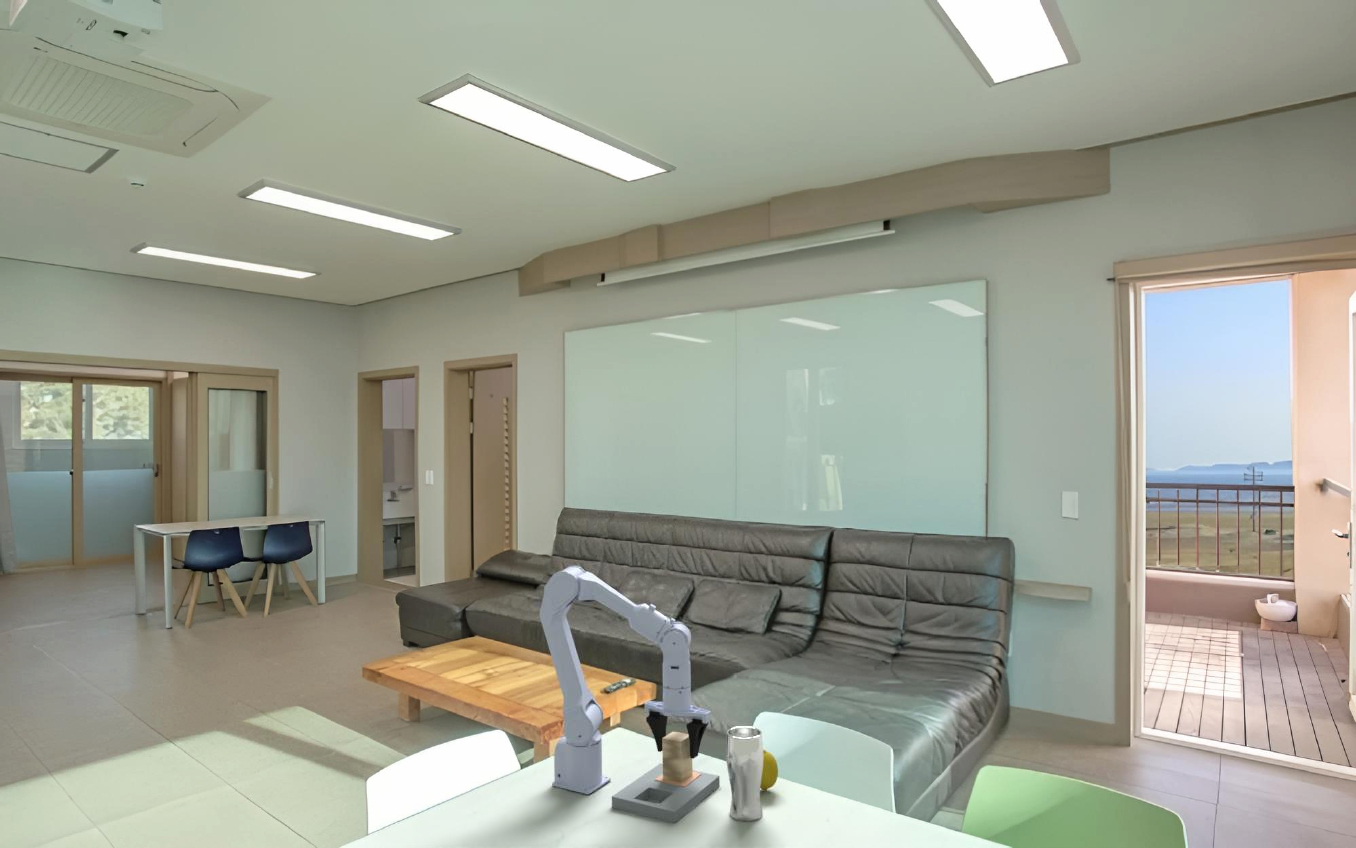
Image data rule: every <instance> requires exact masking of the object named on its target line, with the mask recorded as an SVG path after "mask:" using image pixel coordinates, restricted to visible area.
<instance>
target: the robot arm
mask: <svg viewBox="0 0 1356 848" xmlns="http://www.w3.org/2000/svg"><path fill="white" fill-rule="evenodd" d="M543 589H544V593H543V598H542V602H541V605H540V610H539V619H540V623H541V626H542V630H543V633H544V636H545V638H546V643H547V646H548V649H549V652H550V656H551V659H552V664H553V666H554V670H555V674H556V676H557V680H558V683H559V687H560V690H561V693H562V698H563V703H562V705H563V706H562V715H563V719H564V720H563V721H564V722H563V729H562V730H563V736H562V737H560V738H559V740H558V741H557V742H556V745H555V748H554V754H553V756H554V757H553V759H554V761H553V762H554V763H553V764H554V765H553V767H554V773H553V774H554V775H553V776H554V781H553V782H552V783H551V786H553V787H557V788H561V789H565V790H568V791H572V792H578V793H581V794H585V795H590V794H591V793H594V792H595V791H596V790H598V789H599V788H601V787H603V786H605V784H607V783H609V782H610V781H612V778H611V777H610V776H605V775H603V757H602V756H603V755H602V754H603V753H602V752H603V750H602V749H603V747H602V745H603V742H602V741H603V740H602V734H601V732H600V729H599V727H600V726H601V725H602V723H603V721H604V711H603V709H602V706H601V705H600V704H599V703H598V702H597V700H596V699H595V696H594V693H593V692H592V691H591V690H590V689H589V688H588V686H587V681H586V678H585V675H584V672H583V669H582V666H581V661H580V658H579V654H578V652H577V649H576V644H575V641H574V638H573V635H572V631H571V628H570V624H569V622H568V619H567V614H568V612H569V610H570V609H571V607H572V606H573V603H574V602H575V600H577V599H578V600H577V601H580V602H581V601H592V600H594V601H597V602H598V603H599V604H602V605H603V606H605V607H607V608H609V609H610V610H611V611H614V612H615V613H617V614H619V615H620V616H622V617H624V618H626V619H627V620H628V625H629V627H630V629H632V630H633V631H634V632H636V633H638V634H640V635H641V636H642V637H644V638H646V639H647V640H649V641H651V642H652V643H653V644H655V645H659V648H660V650H661V653H662V657H663V659H662V660H663V662H662V701H652V700H649V701H646V702H644V713H645V714H648V716H646V718H645V719H646V720H645V721H646V723H647V725H648V726H649V728H650V730H651V733H652V735H653V738H654V742H655V744H656V749H657V752H659V753H661V752H662V738H663V737H665V736H667V724H668V718H669V717H670V718H671V717H673V718H681V719H685V720H691V721H690V722H689V723H687V724H686V731H687V734H688V735H689V741H690V758H692V760H693V759H696V758H697V757H698V756H699V750H700V747H701V743H702V739H703V736H704V735H705V732H706V729H707V727H708V725H709V723H710V722H711V721H712V711H711V710H707V709H703V708H701V707H698V706H695V705H692V690H691V689H692V687H691V686H692V684H691V683H692V674H691V672H692V671H691V670H692V669H691V668H692V667H691V661H690V658H691V655H690V654H691V653H690V645H691V642H692V633H691V630H690V629H689V628H688V627H687V625H685V623H684V622H681V621H676V619H674V618H673V617H671V618H669V617H668V616H666V615H664V614H663V613H661V612H660V611H658V610H656V608H657V606H656V605H654V604H652V603H651V604H649V605H648V604H647V603H641V604H636V603H634V602H633V601H631V600H630V599H628V597H625V595H623V594H622V593H620V592H618V591H617V590H616V589H615V588H613V587H611V586H610V585H609V584H607V583H606V582H604V581H603V580H602V579H600V578H599V577H597V576H596V575H595V574H594V573H592V572H589V571H588V570H587V571H586V570H584V569H583V568H582V567H581V566H578V565H569V566H568V567H565V568H564V569H563V570H560V571H557V572H555V573H554V574H553V575H552V576H551V577H550V578H549V579H548V581H547V583H546V584H545V585H544V587H543Z"/></svg>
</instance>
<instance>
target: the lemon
mask: <svg viewBox="0 0 1356 848" xmlns="http://www.w3.org/2000/svg"><path fill="white" fill-rule="evenodd" d="M778 776H779V768H778V762H777V760H776V758H775V756H774V755H773V754H772V753H771V752H769V751H766V749H763V772H762V779H761V786H760V790H762V791H763V792H766V791H767V790H768V789H770V788H772V787H773V786H774V785H776V783H777V780H778V778H779V777H778Z"/></svg>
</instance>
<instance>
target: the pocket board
mask: <svg viewBox="0 0 1356 848" xmlns="http://www.w3.org/2000/svg"><path fill="white" fill-rule="evenodd" d="M692 770H693V775H692V776H690V777H689V778H688V779H687V780H685V781H684V782H683V783H680V782H675V781H671V780H666V779H663V763H661V762H660V763H659V764H657V765H656V766H654V767H653V768H651V769H650V770H648V771H647V772H645V773H644V774H643V775H641V776H639V778H636V779H635V780H633V781H632V782H631V783H630V784H628V785H627V786H625V787H623V788H622V789H620V790H619V791H617V792H616V793H615V794H613V795H612V796H611V808H614V809H617V810H622V811H626V812H629V813H633V814H637V815H641V816H645V817H649V818H653V819H657V820H661V821H666V822H669V823H673V824H677V822H678V821H679V820H681V819H682V818H683V817H685V815H687V814H688V813H689V812H690V811H692V810H693V809H694V808H695V807H696V806H698V805H699V804H700V803H701V802H702V801H703V800H704V799H705V798H707V797H708V796H709V795H710V794H712V793H713V792H714V791H715V790H716V789H718V788H719V787H720V786H721V785H720V784H721V783H720V775H716V774H712V773H708V772H705V771H699V770H694V769H692ZM648 799H653V800H658V801H661V802H660V803H659V804H658V803H653V802H649V801H647V800H648Z"/></svg>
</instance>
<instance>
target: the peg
mask: <svg viewBox="0 0 1356 848" xmlns="http://www.w3.org/2000/svg"><path fill="white" fill-rule="evenodd" d="M661 752H662V764H663V779H666V780H671V781H675V782H680V783H683V782H684V781H685V780H687V779H688V778H689V777H690V776H692V775H693V770H694V769H693V758H690V741H689V735H688V733H684V732H678V731H671V732H670V733H668V734H666V736H665V737H663V738H662V751H661Z"/></svg>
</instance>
